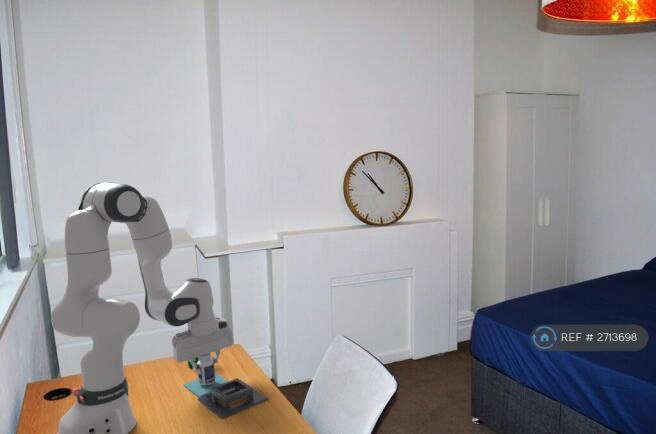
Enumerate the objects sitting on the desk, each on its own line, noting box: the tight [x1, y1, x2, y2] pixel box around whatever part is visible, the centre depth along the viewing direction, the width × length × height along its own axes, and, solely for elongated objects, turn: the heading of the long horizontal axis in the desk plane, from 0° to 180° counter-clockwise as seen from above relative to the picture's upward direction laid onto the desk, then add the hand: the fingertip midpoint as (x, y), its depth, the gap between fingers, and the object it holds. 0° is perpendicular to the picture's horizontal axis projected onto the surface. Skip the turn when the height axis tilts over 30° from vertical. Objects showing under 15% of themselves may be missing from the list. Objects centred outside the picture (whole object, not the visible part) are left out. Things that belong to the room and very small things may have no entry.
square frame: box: [197, 378, 269, 420], centre depth 168 cm, size 16×16×4 cm
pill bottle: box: [197, 353, 216, 385], centre depth 179 cm, size 5×5×10 cm
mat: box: [182, 372, 230, 398], centre depth 179 cm, size 12×12×1 cm
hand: (205, 366), depth 178 cm, fingers closed on pill bottle, 5 cm apart
